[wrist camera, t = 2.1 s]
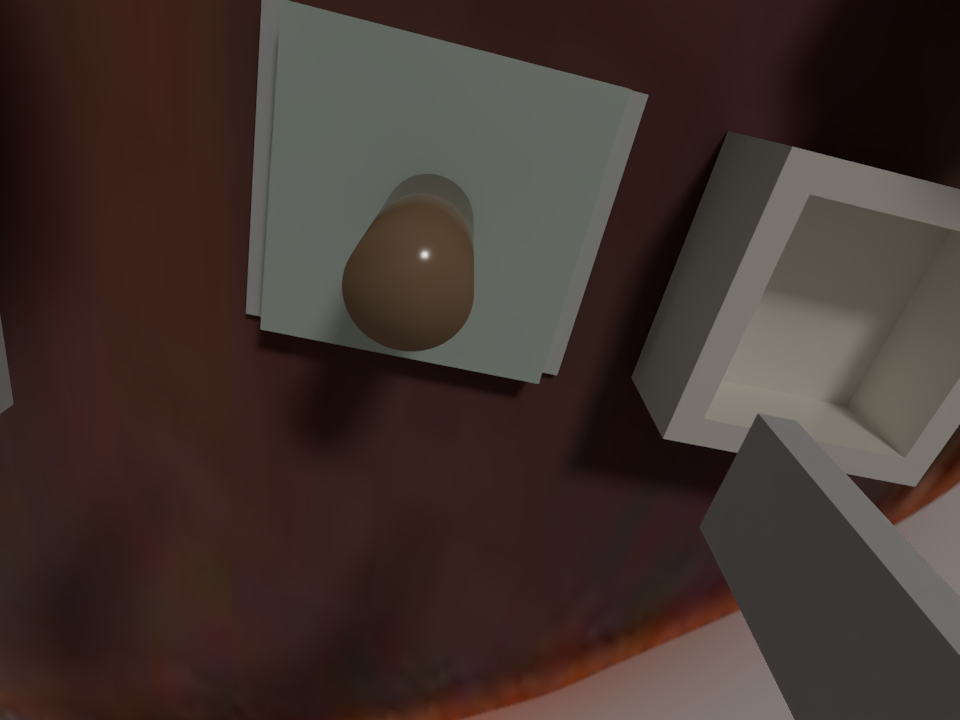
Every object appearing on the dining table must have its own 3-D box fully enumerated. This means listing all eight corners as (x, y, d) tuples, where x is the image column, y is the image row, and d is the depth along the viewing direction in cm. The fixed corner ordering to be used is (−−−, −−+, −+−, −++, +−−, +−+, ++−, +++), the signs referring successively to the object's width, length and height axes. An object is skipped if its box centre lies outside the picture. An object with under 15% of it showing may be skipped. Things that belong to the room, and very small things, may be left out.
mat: (248, 310, 25) (245, 313, 25) (264, -5, 20) (262, -6, 20) (556, 372, 27) (556, 375, 27) (646, 94, 22) (648, 94, 21)
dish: (631, 377, 27) (662, 438, 22) (727, 130, 22) (792, 146, 18) (845, 420, 28) (914, 486, 24) (980, 195, 23) (1100, 225, 19)
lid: (269, 318, 25) (170, 439, 17) (291, 2, 20) (163, -45, 12) (536, 371, 26) (564, 507, 18) (622, 88, 21) (717, 100, 13)
